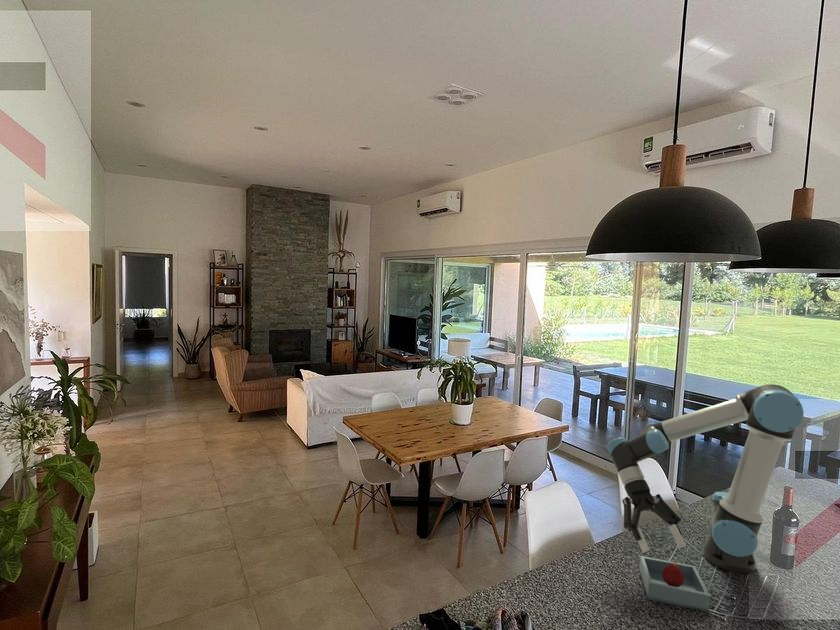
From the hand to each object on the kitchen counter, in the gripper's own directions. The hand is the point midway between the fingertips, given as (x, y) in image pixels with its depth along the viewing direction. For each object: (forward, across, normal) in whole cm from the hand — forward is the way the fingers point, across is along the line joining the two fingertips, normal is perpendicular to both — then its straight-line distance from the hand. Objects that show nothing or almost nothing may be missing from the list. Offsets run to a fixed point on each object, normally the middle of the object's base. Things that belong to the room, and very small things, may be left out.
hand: (664, 549), depth 142 cm
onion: (+10, 0, -5) cm, 11 cm away
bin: (+10, 0, -5) cm, 12 cm away
